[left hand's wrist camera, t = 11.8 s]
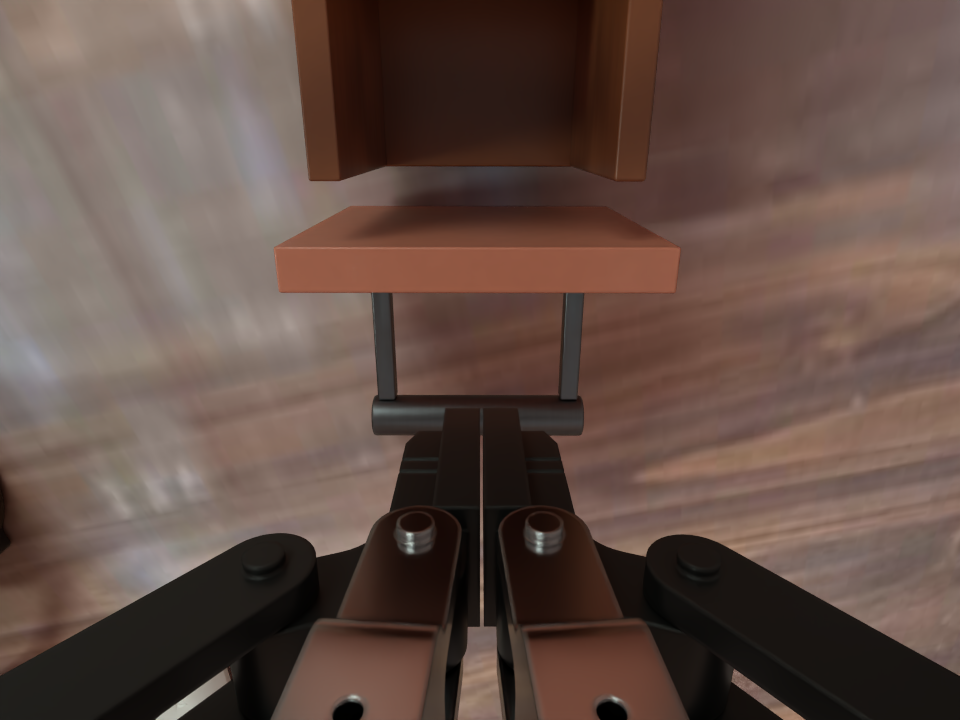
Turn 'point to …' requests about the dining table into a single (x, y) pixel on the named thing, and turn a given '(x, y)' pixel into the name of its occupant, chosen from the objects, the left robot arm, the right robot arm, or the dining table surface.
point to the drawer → (477, 142)
